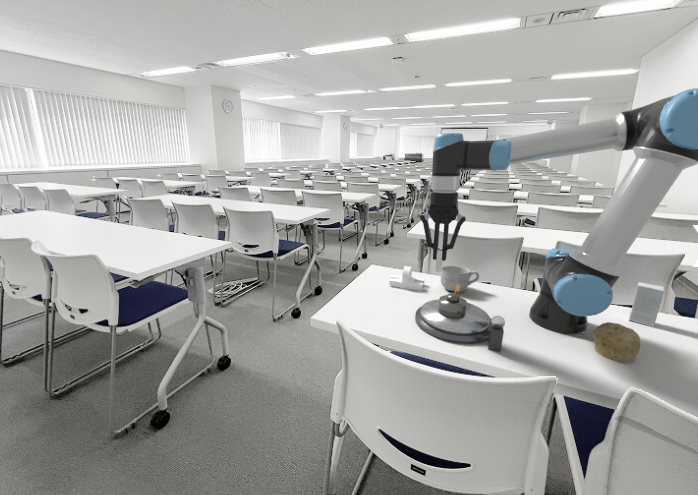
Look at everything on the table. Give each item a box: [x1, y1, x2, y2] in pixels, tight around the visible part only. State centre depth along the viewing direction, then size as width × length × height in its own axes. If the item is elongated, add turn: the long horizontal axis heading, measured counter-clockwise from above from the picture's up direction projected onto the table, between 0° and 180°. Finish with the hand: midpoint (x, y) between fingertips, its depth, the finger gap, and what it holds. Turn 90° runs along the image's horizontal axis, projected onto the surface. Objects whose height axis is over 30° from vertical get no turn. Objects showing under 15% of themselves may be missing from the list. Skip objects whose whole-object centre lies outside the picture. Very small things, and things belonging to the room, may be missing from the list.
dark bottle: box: [487, 315, 506, 353], centre depth 86 cm, size 3×3×9 cm
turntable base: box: [414, 305, 492, 345], centre depth 100 cm, size 23×23×1 cm
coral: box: [592, 321, 641, 364], centre depth 85 cm, size 9×9×8 cm
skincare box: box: [628, 281, 665, 328], centre depth 101 cm, size 6×4×12 cm
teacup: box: [440, 265, 480, 292], centre depth 124 cm, size 14×11×8 cm
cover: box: [438, 292, 468, 319], centre depth 99 cm, size 8×8×6 cm
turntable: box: [420, 284, 491, 336], centre depth 99 cm, size 20×22×7 cm
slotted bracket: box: [388, 265, 425, 292], centre depth 127 cm, size 13×7×8 cm, turn 71°
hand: (438, 270), depth 99 cm, fingers closed
